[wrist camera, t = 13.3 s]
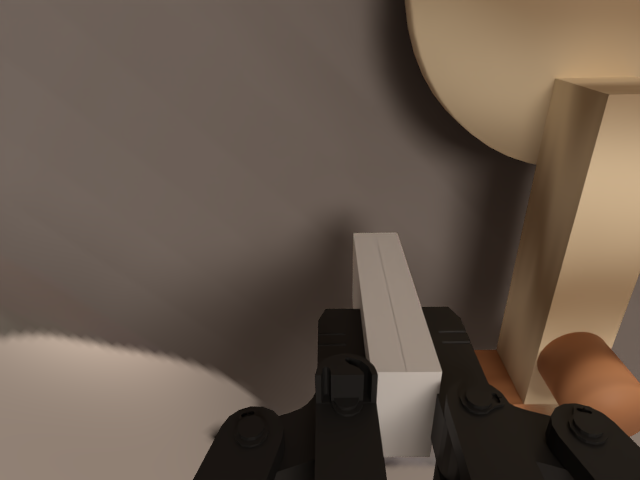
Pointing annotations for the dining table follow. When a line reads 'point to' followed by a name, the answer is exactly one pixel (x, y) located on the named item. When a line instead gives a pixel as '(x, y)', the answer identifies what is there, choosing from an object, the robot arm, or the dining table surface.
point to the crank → (553, 180)
